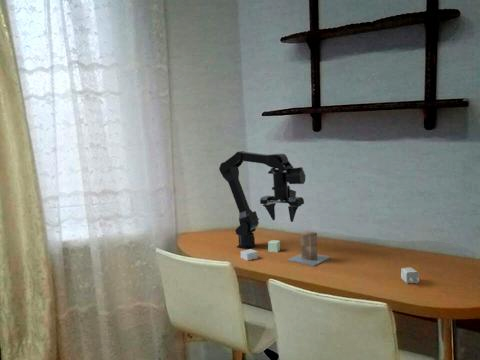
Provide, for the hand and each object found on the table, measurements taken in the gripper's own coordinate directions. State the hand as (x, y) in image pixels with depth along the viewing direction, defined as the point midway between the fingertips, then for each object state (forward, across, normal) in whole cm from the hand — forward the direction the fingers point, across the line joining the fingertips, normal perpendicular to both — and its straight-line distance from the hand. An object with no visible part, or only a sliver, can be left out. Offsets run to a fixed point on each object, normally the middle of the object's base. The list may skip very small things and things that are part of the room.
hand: (282, 220), depth 183 cm
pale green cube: (+13, +5, +1) cm, 14 cm away
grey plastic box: (+13, +7, +15) cm, 21 cm away
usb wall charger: (+15, -55, +8) cm, 58 cm away
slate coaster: (+14, -14, +4) cm, 20 cm away
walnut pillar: (+13, -15, +4) cm, 20 cm away
